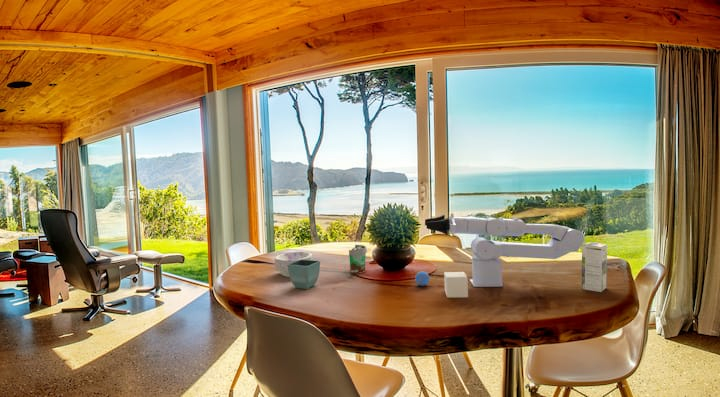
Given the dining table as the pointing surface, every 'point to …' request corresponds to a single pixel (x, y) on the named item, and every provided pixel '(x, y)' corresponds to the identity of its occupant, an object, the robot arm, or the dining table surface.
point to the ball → (422, 278)
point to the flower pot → (304, 273)
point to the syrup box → (594, 266)
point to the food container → (357, 259)
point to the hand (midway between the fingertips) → (425, 223)
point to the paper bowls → (289, 260)
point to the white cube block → (456, 284)
